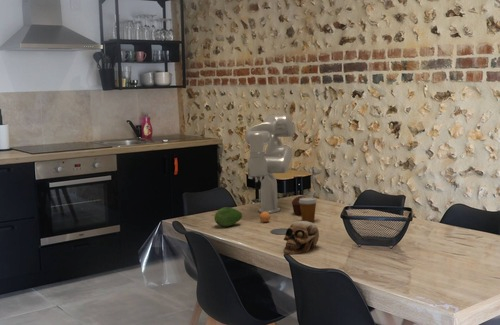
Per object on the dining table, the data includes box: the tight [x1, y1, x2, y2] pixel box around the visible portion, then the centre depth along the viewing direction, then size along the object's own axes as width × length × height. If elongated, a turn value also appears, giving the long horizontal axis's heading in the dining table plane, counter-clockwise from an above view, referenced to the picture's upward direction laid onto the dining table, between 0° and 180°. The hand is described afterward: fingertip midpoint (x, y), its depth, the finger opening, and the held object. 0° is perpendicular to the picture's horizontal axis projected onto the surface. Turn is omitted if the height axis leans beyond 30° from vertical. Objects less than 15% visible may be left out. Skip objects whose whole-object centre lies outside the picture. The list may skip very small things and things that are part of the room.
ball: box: [259, 212, 271, 223], centre depth 336 cm, size 6×6×6 cm
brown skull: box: [283, 220, 320, 255], centre depth 281 cm, size 16×17×13 cm
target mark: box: [269, 227, 288, 236], centre depth 314 cm, size 12×12×1 cm
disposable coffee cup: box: [299, 196, 318, 223], centre depth 334 cm, size 10×10×12 cm
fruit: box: [214, 206, 243, 228], centre depth 330 cm, size 15×10×10 cm, turn 115°
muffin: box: [291, 195, 306, 217], centre depth 351 cm, size 12×11×10 cm
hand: (258, 188), depth 342 cm, fingers closed
